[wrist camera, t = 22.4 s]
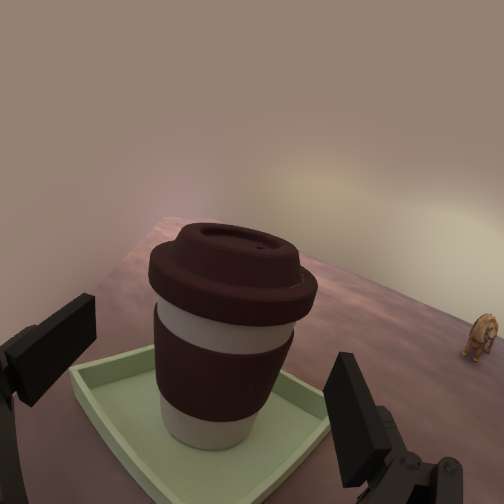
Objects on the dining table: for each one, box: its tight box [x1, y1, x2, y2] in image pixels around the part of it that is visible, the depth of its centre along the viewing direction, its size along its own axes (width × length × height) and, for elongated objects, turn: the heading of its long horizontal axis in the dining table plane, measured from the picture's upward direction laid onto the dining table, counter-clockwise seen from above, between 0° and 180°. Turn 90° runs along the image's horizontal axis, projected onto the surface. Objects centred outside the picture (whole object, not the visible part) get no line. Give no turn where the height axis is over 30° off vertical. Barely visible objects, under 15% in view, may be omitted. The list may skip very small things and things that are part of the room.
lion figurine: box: [461, 314, 498, 362], centre depth 38 cm, size 15×5×9 cm, turn 122°
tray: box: [69, 344, 331, 504], centre depth 20 cm, size 16×16×3 cm
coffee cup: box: [148, 223, 318, 450], centre depth 19 cm, size 10×10×15 cm
